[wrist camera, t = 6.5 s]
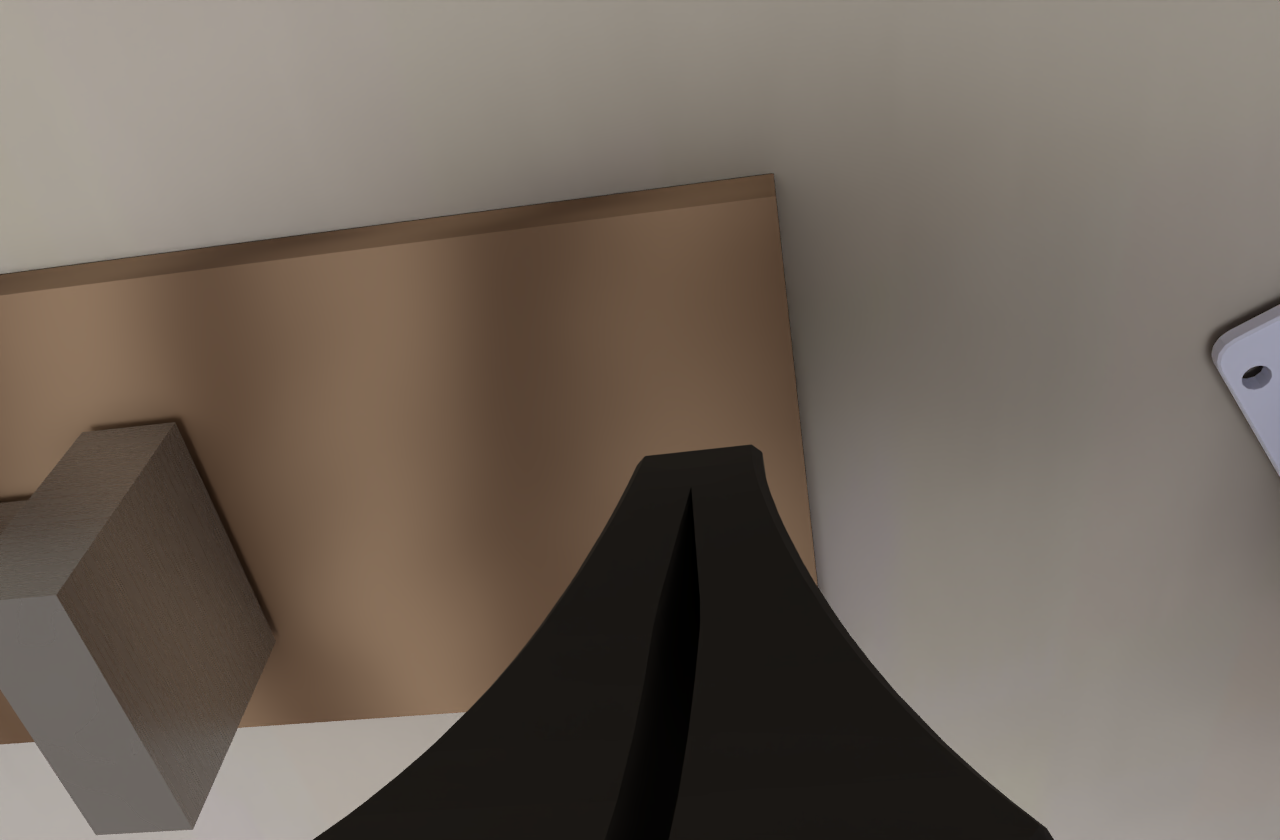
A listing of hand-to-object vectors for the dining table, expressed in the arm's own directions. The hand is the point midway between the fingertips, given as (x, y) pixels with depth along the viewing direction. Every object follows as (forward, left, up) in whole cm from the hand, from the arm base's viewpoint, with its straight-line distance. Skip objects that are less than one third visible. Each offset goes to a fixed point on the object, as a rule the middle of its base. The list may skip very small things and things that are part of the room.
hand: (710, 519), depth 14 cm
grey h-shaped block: (+2, +16, -8) cm, 18 cm away
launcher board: (0, +12, -9) cm, 15 cm away
